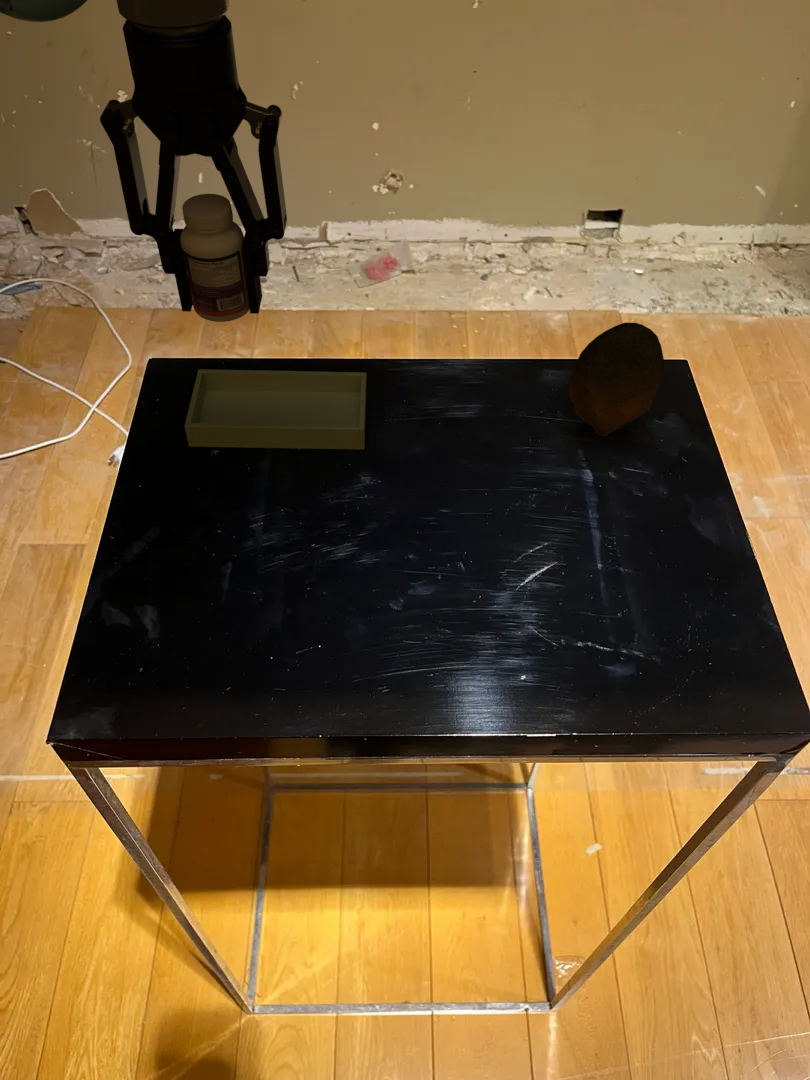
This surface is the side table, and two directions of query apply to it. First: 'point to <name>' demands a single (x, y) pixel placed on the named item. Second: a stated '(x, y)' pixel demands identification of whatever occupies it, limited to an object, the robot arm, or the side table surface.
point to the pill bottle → (214, 258)
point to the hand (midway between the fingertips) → (222, 303)
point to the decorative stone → (617, 377)
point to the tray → (277, 409)
